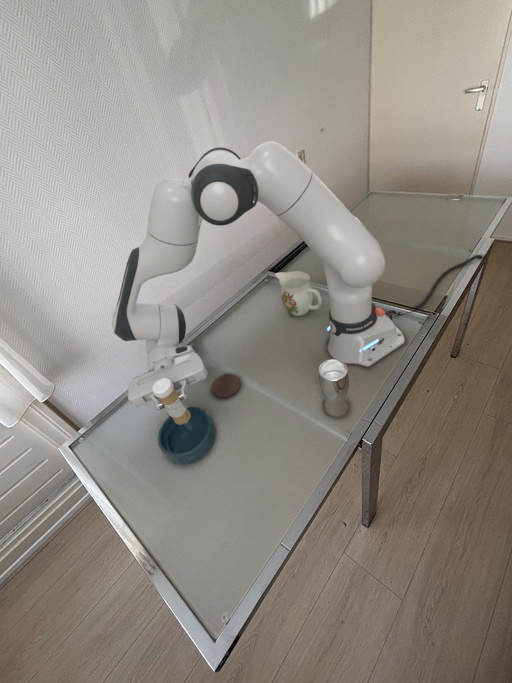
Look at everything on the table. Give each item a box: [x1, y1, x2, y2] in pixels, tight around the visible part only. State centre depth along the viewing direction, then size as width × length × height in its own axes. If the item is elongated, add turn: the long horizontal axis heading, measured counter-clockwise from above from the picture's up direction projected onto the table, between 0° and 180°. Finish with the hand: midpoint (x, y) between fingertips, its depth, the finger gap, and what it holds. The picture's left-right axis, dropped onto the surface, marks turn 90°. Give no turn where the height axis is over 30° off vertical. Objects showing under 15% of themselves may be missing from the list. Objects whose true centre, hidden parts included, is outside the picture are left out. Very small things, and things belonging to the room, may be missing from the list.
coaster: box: [211, 373, 242, 399], centre depth 97 cm, size 9×9×1 cm
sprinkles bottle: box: [152, 378, 191, 425], centre depth 77 cm, size 5×5×13 cm
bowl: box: [157, 406, 217, 466], centre depth 85 cm, size 14×14×5 cm
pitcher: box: [274, 270, 323, 317], centre depth 112 cm, size 11×18×14 cm, turn 49°
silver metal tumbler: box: [318, 358, 350, 418], centre depth 79 cm, size 7×7×15 cm
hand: (171, 402), depth 76 cm, fingers closed on sprinkles bottle, 4 cm apart
